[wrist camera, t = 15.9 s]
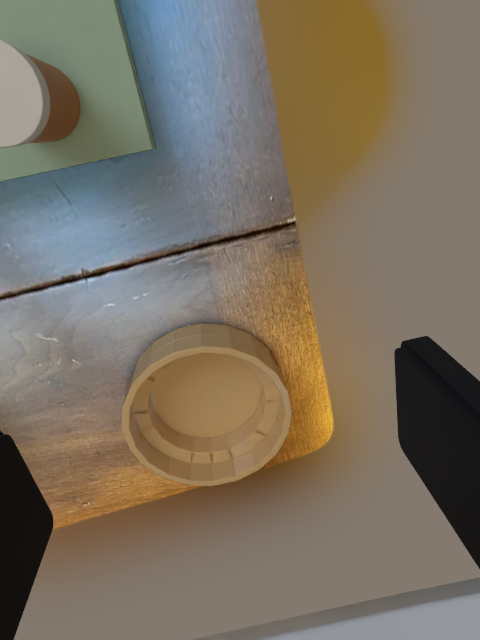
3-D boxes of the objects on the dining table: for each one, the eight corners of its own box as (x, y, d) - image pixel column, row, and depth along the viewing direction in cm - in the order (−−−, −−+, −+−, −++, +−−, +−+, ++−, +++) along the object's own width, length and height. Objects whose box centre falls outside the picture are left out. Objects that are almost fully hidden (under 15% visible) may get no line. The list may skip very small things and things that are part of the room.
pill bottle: (66, 53, 27) (19, 24, 19) (92, 135, 29) (57, 136, 21) (-9, 68, 27) (-85, 45, 19) (22, 149, 29) (-37, 156, 21)
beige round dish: (267, 305, 38) (277, 329, 33) (290, 431, 44) (301, 466, 39) (109, 340, 38) (98, 369, 33) (153, 461, 44) (149, 500, 39)
